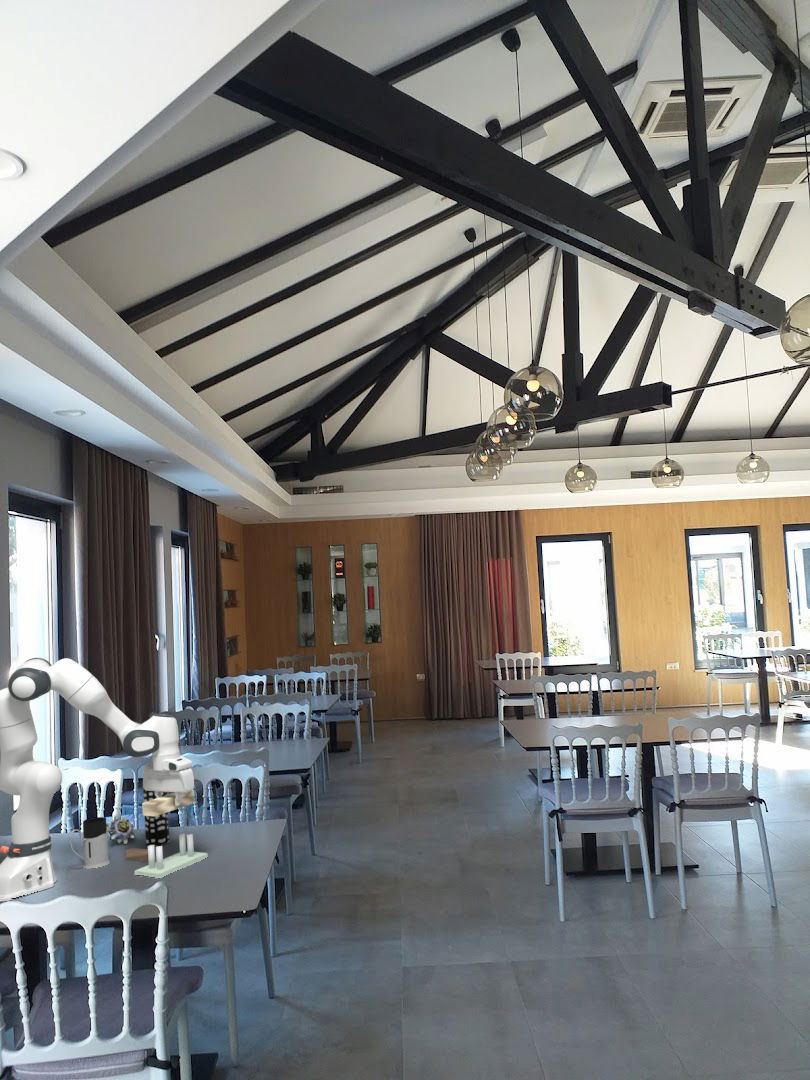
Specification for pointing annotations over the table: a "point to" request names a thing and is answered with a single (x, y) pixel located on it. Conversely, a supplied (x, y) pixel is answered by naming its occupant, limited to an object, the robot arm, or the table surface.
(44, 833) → the robot arm
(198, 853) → the peg stand
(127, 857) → the riser
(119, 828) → the passion flower
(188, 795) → the plank
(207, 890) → the table surface
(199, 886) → the table surface
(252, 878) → the table surface
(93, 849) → the electric kettle
